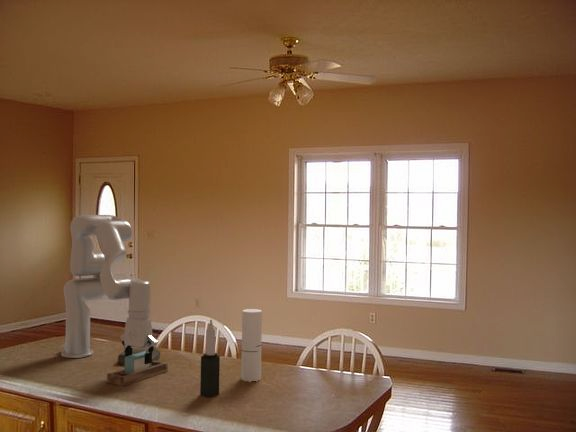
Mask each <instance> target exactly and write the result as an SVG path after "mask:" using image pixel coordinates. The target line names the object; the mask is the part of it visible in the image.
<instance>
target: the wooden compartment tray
mask: <svg viewBox="0 0 576 432" xmlns="http://www.w3.org/2000/svg"><path fill="white" fill-rule="evenodd" d="M168 365H169V364H168V363H167V362H162V361H159V360H157V361H153V360H152V363H151V367H149V368H146V369H143V370H140V371H137V372H134V373H131V374H127V373H125V368H123V369H120V370H117V371H114V372H111V373H110V372H108V373H107V374H106V382H107V383H108V384H112V385H113V384H114V385H117V386H121V387H126V386H130V385H133V384H135V383H138V382H140V381H141V382H142V381H143V380H147V379H150V378H151V377H155V376H158V375H161V374H164V373H166V372H168V370H169V369H168Z"/></svg>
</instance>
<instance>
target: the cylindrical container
mask: <svg viewBox="0 0 576 432" xmlns="http://www.w3.org/2000/svg"><path fill="white" fill-rule="evenodd" d="M241 311H242V317H241V318H242V319H241V320H242V321H241V324H242V326H241V362H240V363H241V364H240V365H241V367H240V368H241V369H240V370H241V371H240V373H241V374H240V379H242V380H244V381H243V382H246V381H249V382H248V383H252V382H251V381H256V382H259V381H261V380H260V379H261V378H262V340H263V339H262V336H263V335H262V331H263V330H262V328H263V310H261V309H260V308H259V309H257V308H246V309H243V310H241ZM242 380H241V381H242ZM258 380H259V381H258Z"/></svg>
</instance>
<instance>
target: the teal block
mask: <svg viewBox="0 0 576 432" xmlns="http://www.w3.org/2000/svg"><path fill="white" fill-rule="evenodd" d="M145 353H146V351H144V352H140V353H137V354H133V355H130V356H127V357H125V365H124V369H125V373H127V374H131V373H134V372H137V371H140V370H143V369H146V368H149V367H151V363H149V364H144V358H145Z"/></svg>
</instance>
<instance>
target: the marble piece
mask: <svg viewBox="0 0 576 432" xmlns="http://www.w3.org/2000/svg"><path fill="white" fill-rule="evenodd" d="M144 351H145V350H144V348H132V355H133V354H137V353H140V352H144ZM159 359H161V351H160V350H159V349H155V350H154V351H153V352H152V360H153V361H159ZM117 363H118V364H120V365H122V366H123V365H124V366H125V350H123V351H122V352H121V353H119V355H118V357H117Z"/></svg>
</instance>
